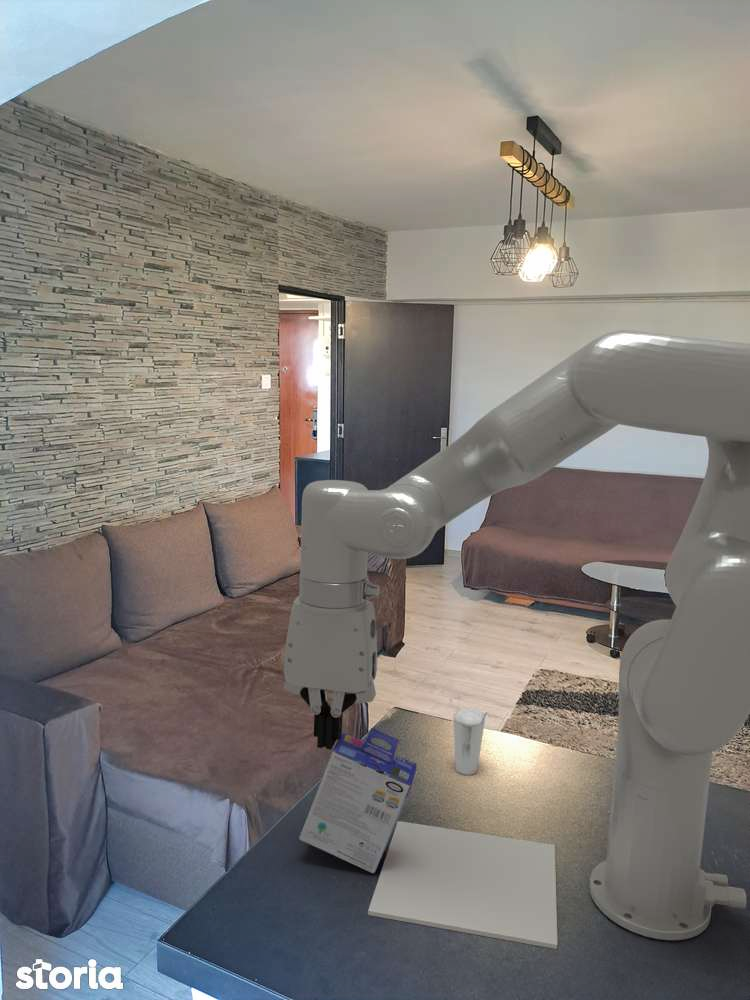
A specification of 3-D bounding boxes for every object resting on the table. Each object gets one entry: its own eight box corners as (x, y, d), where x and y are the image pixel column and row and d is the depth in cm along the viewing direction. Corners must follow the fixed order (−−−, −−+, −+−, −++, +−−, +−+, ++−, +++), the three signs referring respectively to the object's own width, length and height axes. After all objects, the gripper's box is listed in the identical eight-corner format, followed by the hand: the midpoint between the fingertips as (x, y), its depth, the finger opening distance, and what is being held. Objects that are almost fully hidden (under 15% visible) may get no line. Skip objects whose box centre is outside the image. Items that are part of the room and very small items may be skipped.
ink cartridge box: (384, 848, 92) (426, 746, 89) (375, 877, 86) (420, 770, 83) (310, 814, 93) (349, 712, 90) (297, 840, 88) (337, 733, 84)
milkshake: (472, 783, 107) (476, 716, 105) (444, 768, 111) (447, 704, 109) (492, 772, 110) (496, 708, 108) (464, 758, 114) (468, 695, 112)
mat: (554, 848, 92) (554, 845, 92) (557, 949, 76) (557, 944, 76) (397, 824, 96) (397, 820, 96) (368, 914, 80) (368, 910, 80)
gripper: (404, 588, 87) (396, 737, 90) (280, 576, 90) (277, 720, 93) (391, 607, 80) (383, 768, 83) (258, 593, 83) (255, 749, 86)
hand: (327, 743), depth 88 cm, fingers closed
